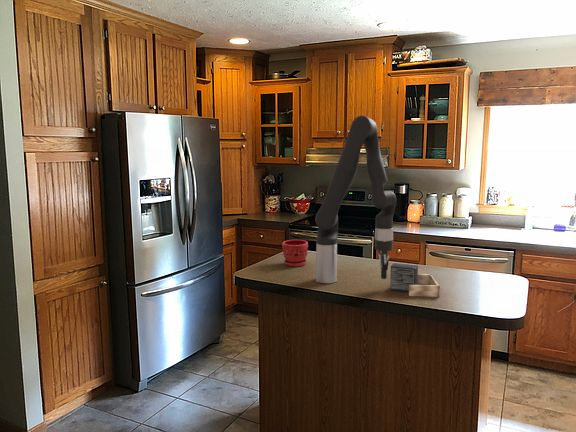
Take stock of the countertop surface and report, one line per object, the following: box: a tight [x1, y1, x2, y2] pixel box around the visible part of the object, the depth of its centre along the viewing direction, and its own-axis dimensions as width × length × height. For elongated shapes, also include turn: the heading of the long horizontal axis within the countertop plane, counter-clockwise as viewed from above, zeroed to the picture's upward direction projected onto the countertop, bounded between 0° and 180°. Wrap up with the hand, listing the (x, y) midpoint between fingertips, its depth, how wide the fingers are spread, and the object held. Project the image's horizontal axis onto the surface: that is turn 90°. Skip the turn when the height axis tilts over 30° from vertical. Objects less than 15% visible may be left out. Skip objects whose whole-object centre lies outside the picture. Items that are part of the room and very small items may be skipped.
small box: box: [389, 262, 419, 293], centre depth 196 cm, size 11×6×10 cm, turn 65°
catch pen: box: [408, 273, 441, 298], centre depth 196 cm, size 12×17×4 cm
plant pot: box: [281, 239, 309, 267], centre depth 239 cm, size 13×13×12 cm
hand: (383, 278), depth 197 cm, fingers closed
